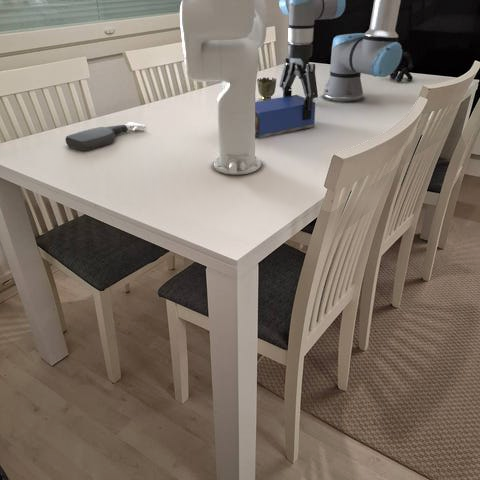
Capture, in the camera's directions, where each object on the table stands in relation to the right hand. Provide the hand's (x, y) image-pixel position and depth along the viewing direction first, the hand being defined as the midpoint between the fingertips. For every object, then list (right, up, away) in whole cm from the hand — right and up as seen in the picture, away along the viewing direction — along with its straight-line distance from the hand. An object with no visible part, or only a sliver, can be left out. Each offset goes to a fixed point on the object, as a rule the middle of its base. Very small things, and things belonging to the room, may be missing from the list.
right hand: (296, 114), depth 147 cm
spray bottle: (-60, -9, -7) cm, 61 cm away
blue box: (-6, -4, -1) cm, 7 cm away
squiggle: (+53, +31, +53) cm, 81 cm away
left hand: (-20, -5, -8) cm, 22 cm away
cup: (-8, +13, +28) cm, 32 cm away
